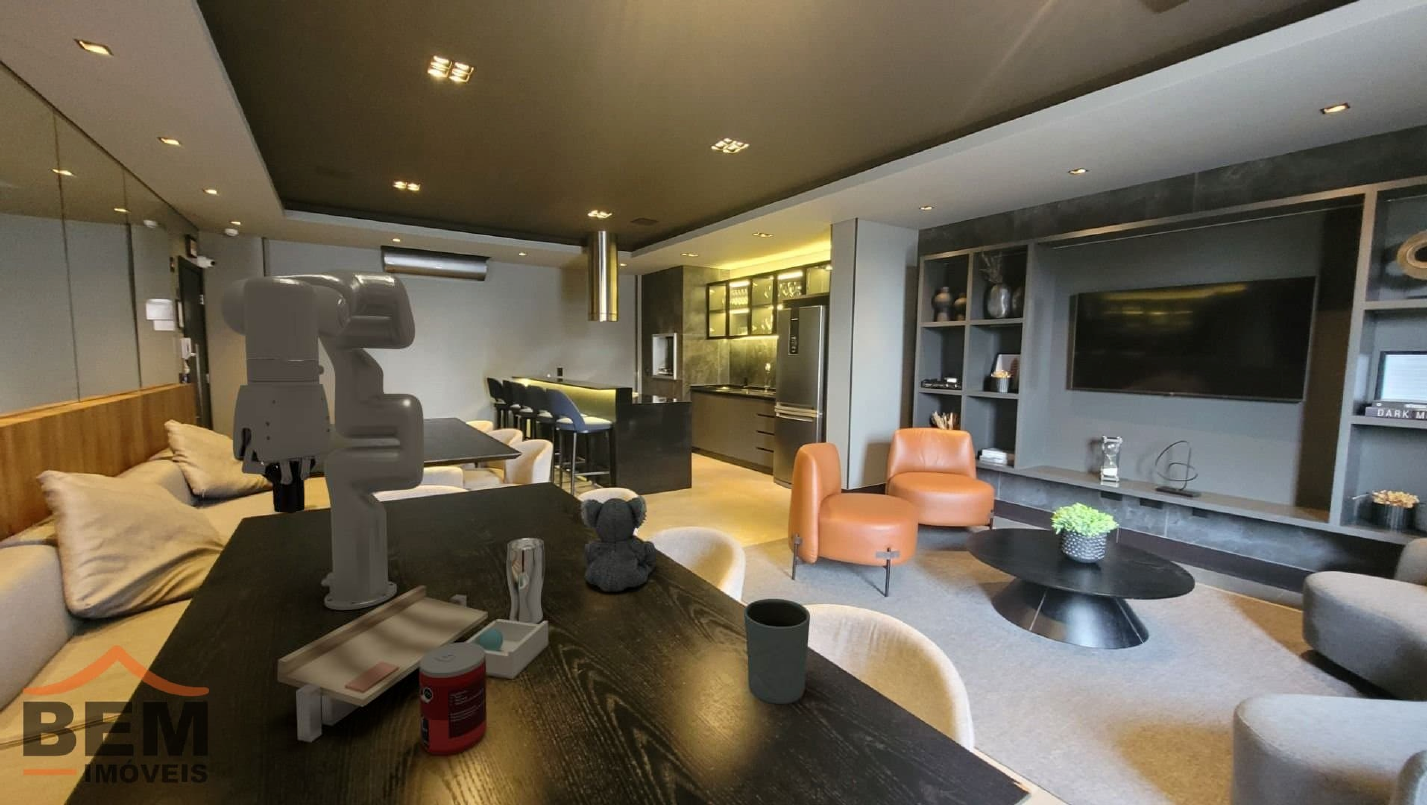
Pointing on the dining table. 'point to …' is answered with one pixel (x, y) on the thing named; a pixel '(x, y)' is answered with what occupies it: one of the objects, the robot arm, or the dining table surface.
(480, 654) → the canned food
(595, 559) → the koala plush
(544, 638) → the white open box
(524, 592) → the beer glass
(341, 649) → the lever
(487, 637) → the ball
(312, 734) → the lever stand
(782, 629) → the dark green cup
